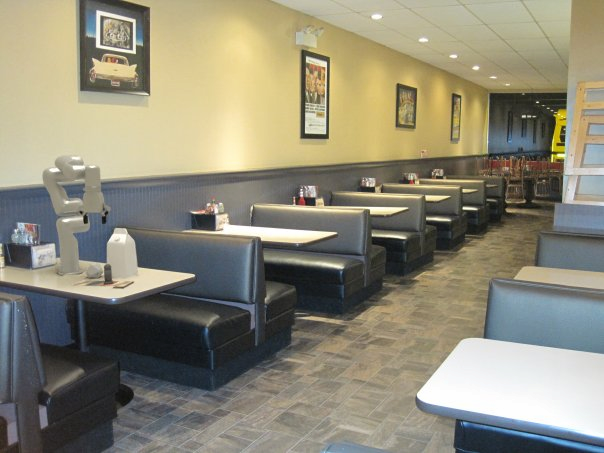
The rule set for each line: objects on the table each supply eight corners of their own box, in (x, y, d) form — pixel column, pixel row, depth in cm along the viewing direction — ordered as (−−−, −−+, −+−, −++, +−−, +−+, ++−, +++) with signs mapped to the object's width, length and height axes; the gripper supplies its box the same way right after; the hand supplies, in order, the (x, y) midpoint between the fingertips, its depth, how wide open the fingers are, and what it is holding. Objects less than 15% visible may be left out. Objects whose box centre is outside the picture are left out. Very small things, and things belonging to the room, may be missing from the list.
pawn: (101, 284, 298) (100, 264, 297) (106, 282, 303) (104, 262, 302) (110, 284, 298) (109, 264, 297) (115, 282, 303) (114, 263, 301)
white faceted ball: (92, 282, 310) (103, 266, 312) (79, 273, 311) (90, 258, 313) (98, 284, 318) (108, 269, 320) (84, 276, 319) (95, 261, 321)
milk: (138, 275, 324) (136, 227, 321) (126, 279, 313) (124, 230, 310) (118, 274, 328) (116, 227, 324) (106, 278, 317) (104, 229, 313)
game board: (69, 287, 297) (69, 285, 296) (82, 281, 309) (82, 280, 309) (123, 288, 293) (123, 286, 293) (133, 282, 306) (133, 281, 306)
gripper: (73, 190, 299) (75, 224, 301) (106, 190, 297) (107, 224, 299) (80, 189, 306) (82, 222, 309) (112, 189, 304) (114, 223, 306)
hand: (95, 223), depth 304 cm, fingers open, 9 cm apart
